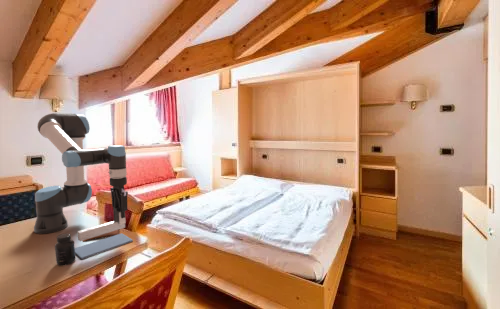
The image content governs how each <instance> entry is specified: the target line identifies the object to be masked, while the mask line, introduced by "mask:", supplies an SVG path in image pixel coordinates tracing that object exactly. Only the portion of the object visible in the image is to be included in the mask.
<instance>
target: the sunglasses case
mask: <svg viewBox="0 0 500 309" xmlns="http://www.w3.org/2000/svg"><path fill="white" fill-rule="evenodd" d="M120 230H121V229H118V230H115V231H112V232H109V233H105V234H102V235H99V236H96V237H93V238H89V239H86V240H83V241H82V243H85V242H89V241H94V240H95V241H96V240H101V239H105V237H106V238H108V237H110V236H111V237H112V236H115V235H118V234H121V233H120Z"/></svg>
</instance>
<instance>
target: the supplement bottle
mask: <svg viewBox="0 0 500 309" xmlns="http://www.w3.org/2000/svg"><path fill="white" fill-rule="evenodd" d="M75 248H76V247H75V241H74V240H73V239H72V236H71V234H70V233H62V234H59V235H57V237H56V243H55V244H54V251H55V252H54V253H55V261H56V264H57V266H61V267H62V266H67V265H70V264H72V263H74V262H75V260H76V258H77V257H76V254H75Z"/></svg>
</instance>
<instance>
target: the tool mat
mask: <svg viewBox="0 0 500 309" xmlns="http://www.w3.org/2000/svg"><path fill="white" fill-rule="evenodd" d="M133 241H134V240H133V239H132V238H131V237H129V236H128V235H126V234H124V233H122V232H121V233H120V234H118V235H115V236H111V237H106V238H101V239H98V240H95V241H92V242H90V243H88V244H85V245H84V244H83V245H80V246H78V247H75V256H78V258H79V259H80V260H84V259H87V258H89V257H93V256H96V255H98V254H101V253H105V252H107V251H110V250H113V249H115V248H118V247H121V246H123V245H126V244H129V243H133Z"/></svg>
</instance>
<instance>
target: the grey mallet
mask: <svg viewBox="0 0 500 309" xmlns="http://www.w3.org/2000/svg"><path fill="white" fill-rule="evenodd" d="M112 210H113V221H109V222H105V223H102V224H99V225H96V226H92V227H91V226H90V227H88V228H85V229H81V230H77V240H78V241H79V242H83V240H86V239H89V238H93V237H96V236H99V235H102V234H105V233H109V232H112V231H115V230H118V229H120V230H121V229H124V228H126V223H124V224H121V225H120V224H119V212H118V211H120V209H119V206H115V207H112Z"/></svg>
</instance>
